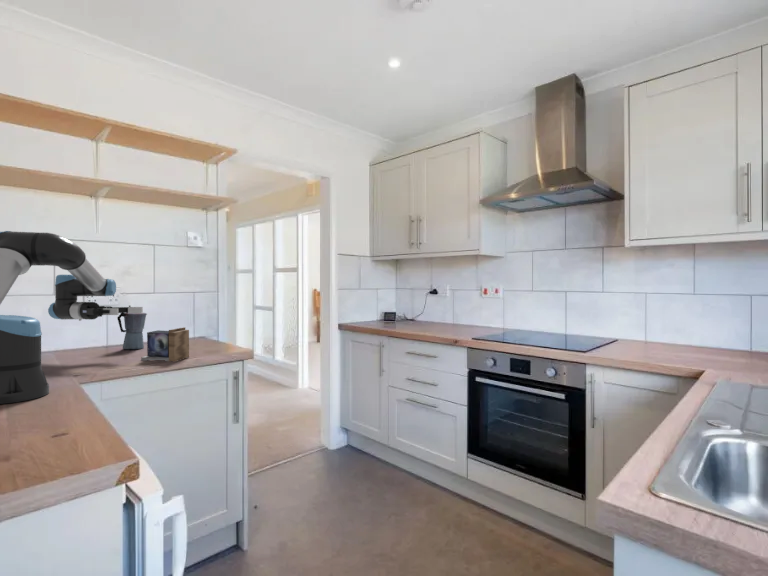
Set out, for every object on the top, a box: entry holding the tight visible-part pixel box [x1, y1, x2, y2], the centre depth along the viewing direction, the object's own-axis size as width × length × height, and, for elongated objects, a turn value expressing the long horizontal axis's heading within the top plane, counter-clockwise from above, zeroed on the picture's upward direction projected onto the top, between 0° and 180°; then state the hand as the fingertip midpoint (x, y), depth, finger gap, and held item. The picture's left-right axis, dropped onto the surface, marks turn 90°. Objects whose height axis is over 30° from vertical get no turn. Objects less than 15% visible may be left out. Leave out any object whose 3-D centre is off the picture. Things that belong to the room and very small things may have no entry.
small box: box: [146, 329, 169, 358], centre depth 176 cm, size 11×6×10 cm, turn 78°
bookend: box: [140, 326, 190, 363], centre depth 176 cm, size 10×16×13 cm, turn 82°
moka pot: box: [116, 312, 148, 350], centre depth 201 cm, size 10×15×20 cm, turn 164°
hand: (130, 310), depth 174 cm, fingers open, 13 cm apart
